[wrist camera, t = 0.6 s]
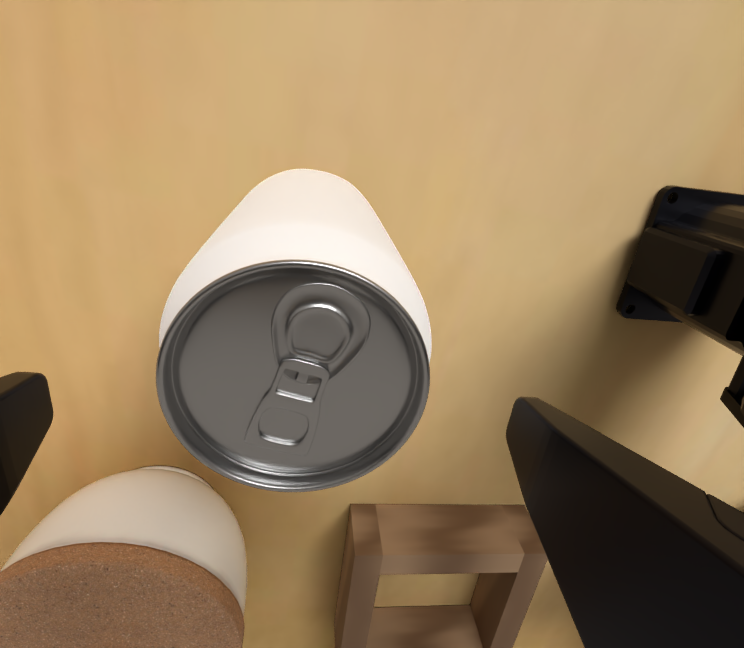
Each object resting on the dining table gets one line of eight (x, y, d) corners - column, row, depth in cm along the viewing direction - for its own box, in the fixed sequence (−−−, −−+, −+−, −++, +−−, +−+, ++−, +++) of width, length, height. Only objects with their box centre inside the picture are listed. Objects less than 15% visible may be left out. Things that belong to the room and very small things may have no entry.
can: (402, 198, 20) (503, 300, 9) (351, 326, 22) (383, 528, 11) (255, 141, 18) (168, 182, 8) (216, 285, 21) (106, 475, 10)
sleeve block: (524, 505, 29) (549, 553, 26) (485, 617, 33) (503, 670, 30) (350, 504, 27) (355, 555, 24) (334, 623, 31) (336, 679, 28)
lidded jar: (260, 570, 29) (236, 762, 20) (76, 575, 27) (-34, 785, 19) (262, 432, 24) (233, 602, 16) (42, 428, 23) (-121, 614, 14)
